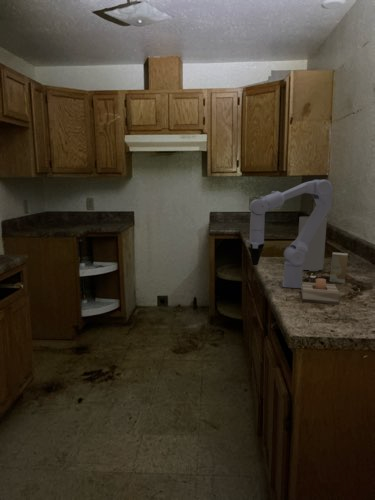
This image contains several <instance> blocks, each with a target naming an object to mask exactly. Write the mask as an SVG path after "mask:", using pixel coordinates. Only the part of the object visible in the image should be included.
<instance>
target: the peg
mask: <svg viewBox="0 0 375 500" xmlns="http://www.w3.org/2000/svg"><path fill="white" fill-rule="evenodd" d="M315 283H316V286H315V289H322V290H325V289H326V284H327V279H325V278H321V277H318V278H315Z"/></svg>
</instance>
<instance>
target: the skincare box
mask: <svg viewBox="0 0 375 500" xmlns="http://www.w3.org/2000/svg"><path fill="white" fill-rule="evenodd" d="M331 255H332V256H331V263H330V273H329V282H332V283H340V284H345V283H346V276H347V267H348V258H349V253H346V252H345V253H344V252H333V251H332V254H331Z"/></svg>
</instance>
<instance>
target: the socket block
mask: <svg viewBox="0 0 375 500" xmlns="http://www.w3.org/2000/svg"><path fill="white" fill-rule="evenodd" d="M315 286H316V282H303V281H302V287H301V288H300V289H301V290H300V293H301V294H300V295H301V299H302V302H303V303H315V304H317V303H319V304H328V305H340V304H339V303H340V291H339V290H338V288H337V286H336V284H334V283H326V289H325V290H322V289H315Z"/></svg>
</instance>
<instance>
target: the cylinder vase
mask: <svg viewBox="0 0 375 500" xmlns="http://www.w3.org/2000/svg"><path fill="white" fill-rule="evenodd" d="M309 217H310V216H299V222H298V233H297V234H298V235H299V234H300V232H301V230H302V228H303V227H304V225H305V223H306V222H307V220H308V218H309ZM327 221H328V218H327V217H325V218H324V220H323V221H322V223H321V225H320V226H319V228H318V230H317V231H316V233H315V235H314V236H313V238H312V239H311V241H310V243H309V244H308V251H307V253H306V256H305V261H304V262H303V271H304V270H309V271H308V272H320V271H319V270H321V271H323V269H324V263H325V251H326V235H327ZM298 235H297V236H298Z"/></svg>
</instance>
